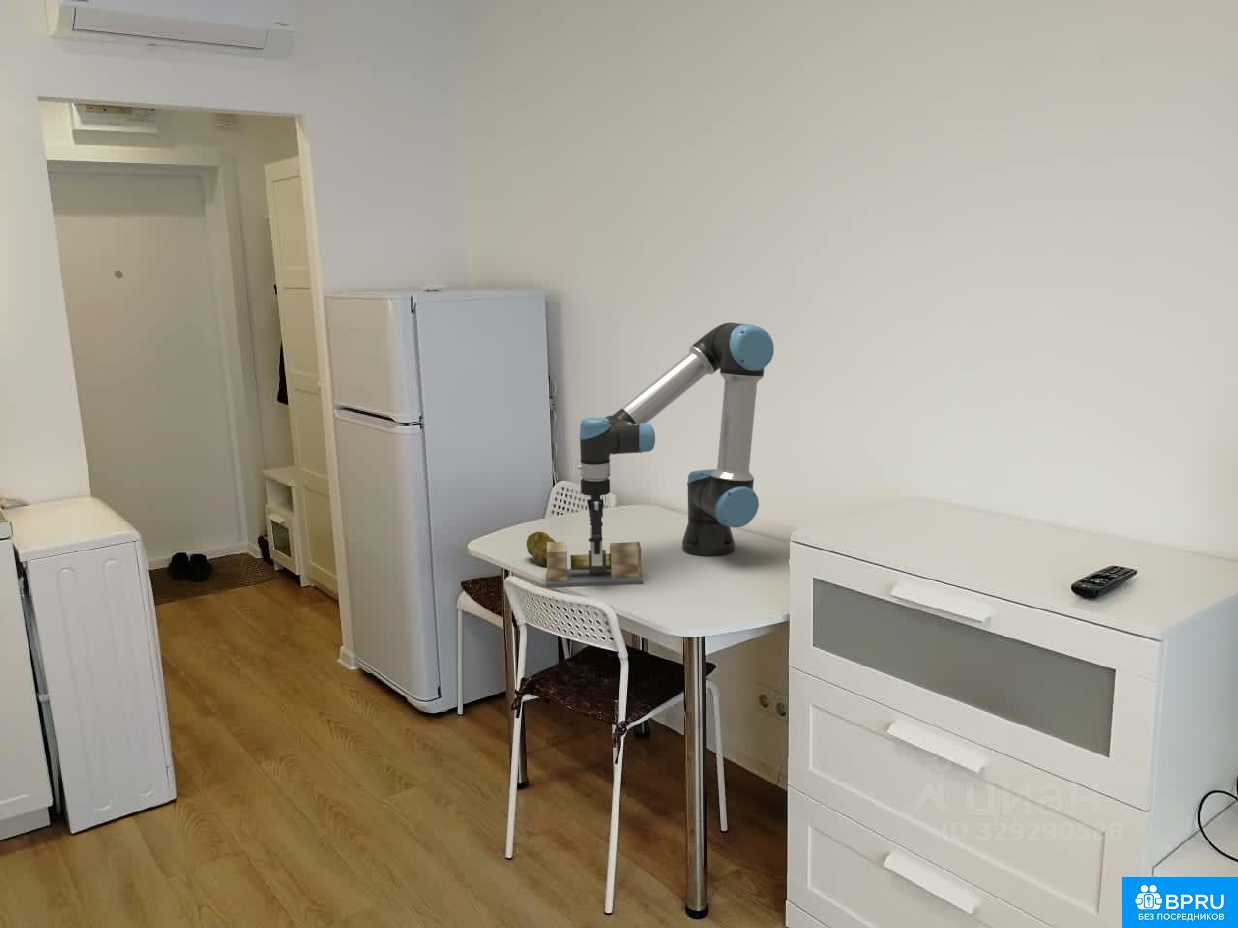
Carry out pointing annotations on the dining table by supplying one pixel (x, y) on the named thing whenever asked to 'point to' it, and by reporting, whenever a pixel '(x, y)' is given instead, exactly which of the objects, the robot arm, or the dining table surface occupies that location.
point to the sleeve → (626, 560)
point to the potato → (539, 546)
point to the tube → (590, 562)
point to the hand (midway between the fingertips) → (596, 558)
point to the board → (592, 579)
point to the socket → (556, 561)
